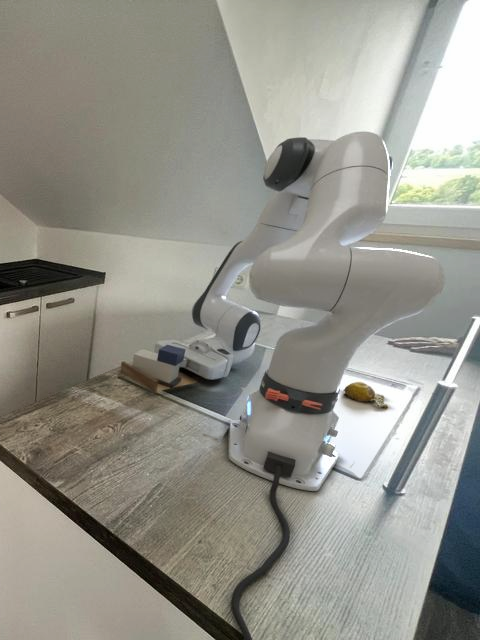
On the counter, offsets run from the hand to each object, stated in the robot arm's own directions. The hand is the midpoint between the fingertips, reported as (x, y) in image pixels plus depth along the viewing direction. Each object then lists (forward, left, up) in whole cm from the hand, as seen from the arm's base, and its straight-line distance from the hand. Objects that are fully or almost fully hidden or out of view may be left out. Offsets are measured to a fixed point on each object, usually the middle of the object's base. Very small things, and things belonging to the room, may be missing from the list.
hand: (166, 362), depth 104 cm
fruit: (+21, -43, -5) cm, 48 cm away
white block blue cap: (-3, +1, -4) cm, 5 cm away
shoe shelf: (-2, +1, -5) cm, 5 cm away
